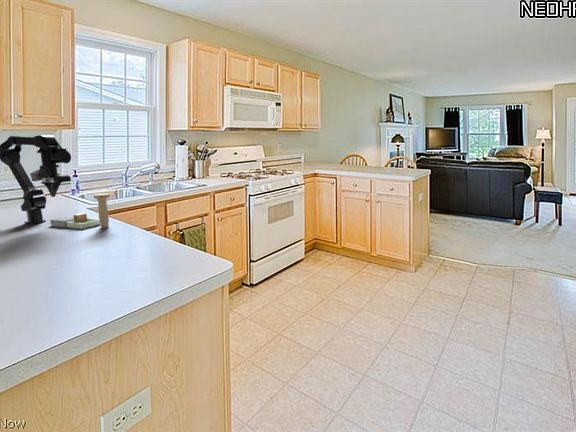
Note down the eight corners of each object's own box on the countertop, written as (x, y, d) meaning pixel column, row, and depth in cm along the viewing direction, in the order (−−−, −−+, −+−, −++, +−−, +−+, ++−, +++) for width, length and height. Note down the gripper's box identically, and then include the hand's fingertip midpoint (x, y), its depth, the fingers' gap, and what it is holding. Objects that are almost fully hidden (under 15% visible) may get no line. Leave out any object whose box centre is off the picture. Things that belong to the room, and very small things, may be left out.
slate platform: (51, 226, 182) (50, 219, 181) (64, 223, 188) (63, 216, 188) (65, 227, 178) (64, 221, 178) (78, 224, 185) (77, 218, 184)
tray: (67, 227, 179) (66, 222, 178) (85, 223, 188) (85, 217, 187) (82, 229, 175) (82, 223, 175) (100, 224, 184) (100, 219, 184)
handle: (112, 227, 178) (109, 194, 175) (96, 228, 175) (93, 195, 172) (112, 225, 182) (109, 193, 179) (97, 226, 180) (94, 194, 177)
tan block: (73, 214, 179) (77, 215, 178) (82, 212, 184) (86, 213, 183) (74, 225, 180) (78, 226, 179) (83, 223, 185) (87, 223, 184)
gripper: (17, 163, 176) (22, 198, 179) (47, 164, 170) (51, 200, 173) (41, 162, 187) (45, 195, 190) (69, 163, 180) (73, 196, 183)
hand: (53, 196), depth 183 cm, fingers closed
